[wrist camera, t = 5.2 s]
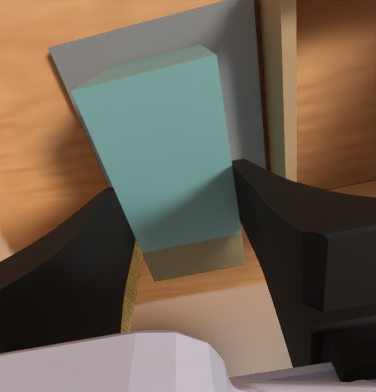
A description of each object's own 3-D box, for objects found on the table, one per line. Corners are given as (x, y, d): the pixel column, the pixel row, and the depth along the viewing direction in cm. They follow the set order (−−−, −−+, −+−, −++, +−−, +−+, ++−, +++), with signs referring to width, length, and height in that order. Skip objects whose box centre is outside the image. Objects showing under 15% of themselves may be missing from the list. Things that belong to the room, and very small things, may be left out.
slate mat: (250, -6, 12) (253, -7, 12) (266, 202, 19) (268, 207, 18) (53, 47, 13) (48, 47, 13) (130, 229, 19) (129, 234, 19)
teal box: (199, 44, 13) (216, 54, 8) (225, 196, 17) (246, 264, 12) (111, 66, 13) (71, 91, 8) (160, 209, 18) (154, 281, 13)
